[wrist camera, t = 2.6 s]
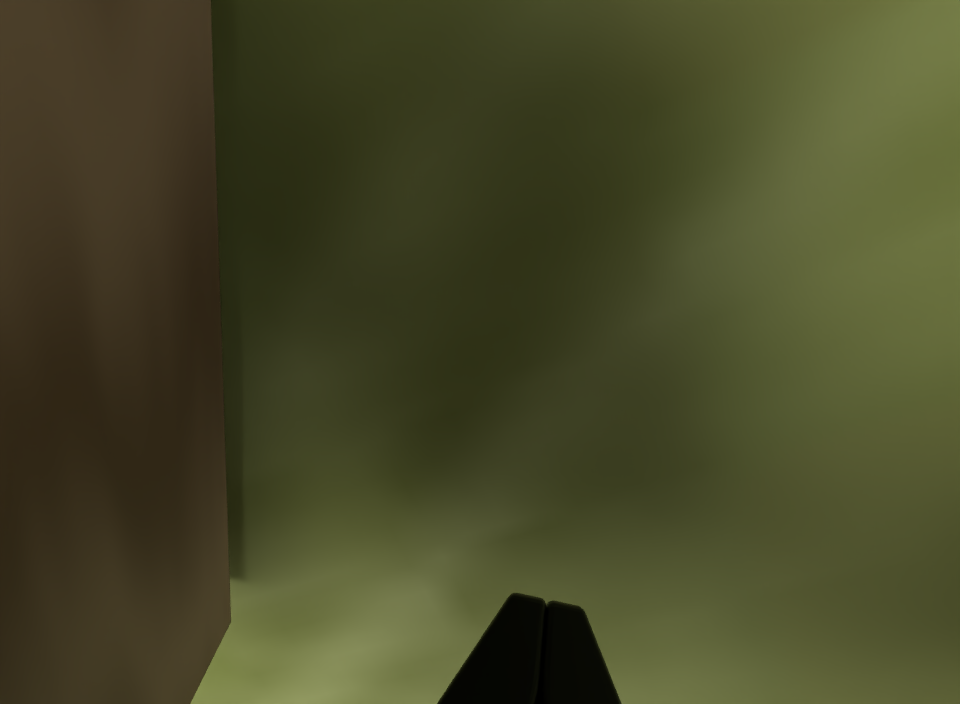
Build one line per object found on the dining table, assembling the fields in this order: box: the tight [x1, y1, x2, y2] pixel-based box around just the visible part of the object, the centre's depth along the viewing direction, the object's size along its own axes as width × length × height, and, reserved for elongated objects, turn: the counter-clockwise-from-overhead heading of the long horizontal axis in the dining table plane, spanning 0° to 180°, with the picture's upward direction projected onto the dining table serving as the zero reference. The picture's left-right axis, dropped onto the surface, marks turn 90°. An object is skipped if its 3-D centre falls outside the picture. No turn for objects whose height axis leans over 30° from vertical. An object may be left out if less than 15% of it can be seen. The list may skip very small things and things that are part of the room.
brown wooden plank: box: [0, 0, 231, 704], centre depth 9 cm, size 14×2×6 cm, turn 172°
